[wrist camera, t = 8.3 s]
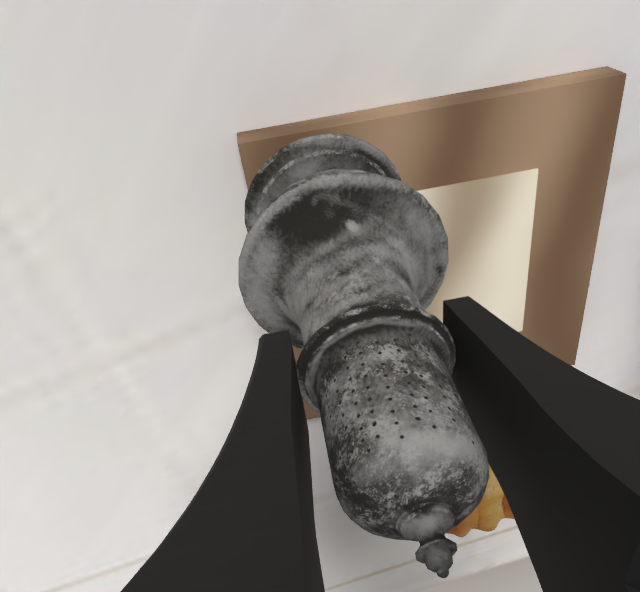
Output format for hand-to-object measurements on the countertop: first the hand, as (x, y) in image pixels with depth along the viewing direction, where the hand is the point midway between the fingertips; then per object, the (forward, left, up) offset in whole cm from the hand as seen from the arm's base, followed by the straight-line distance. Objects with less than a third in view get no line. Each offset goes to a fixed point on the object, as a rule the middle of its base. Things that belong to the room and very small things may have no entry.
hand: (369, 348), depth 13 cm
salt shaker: (0, 0, -7) cm, 7 cm away
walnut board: (-5, +5, -10) cm, 12 cm away
